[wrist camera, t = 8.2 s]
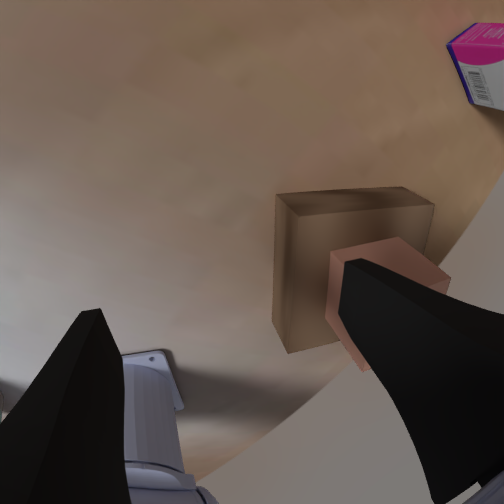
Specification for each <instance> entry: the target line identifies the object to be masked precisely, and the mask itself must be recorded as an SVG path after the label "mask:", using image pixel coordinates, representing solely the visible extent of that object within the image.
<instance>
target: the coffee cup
mask: <svg viewBox="0 0 504 504" xmlns="http://www.w3.org/2000/svg"><path fill="white" fill-rule="evenodd" d="M2 408H3V395H2V393H1V392H0V424H1V418H2Z"/></svg>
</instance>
